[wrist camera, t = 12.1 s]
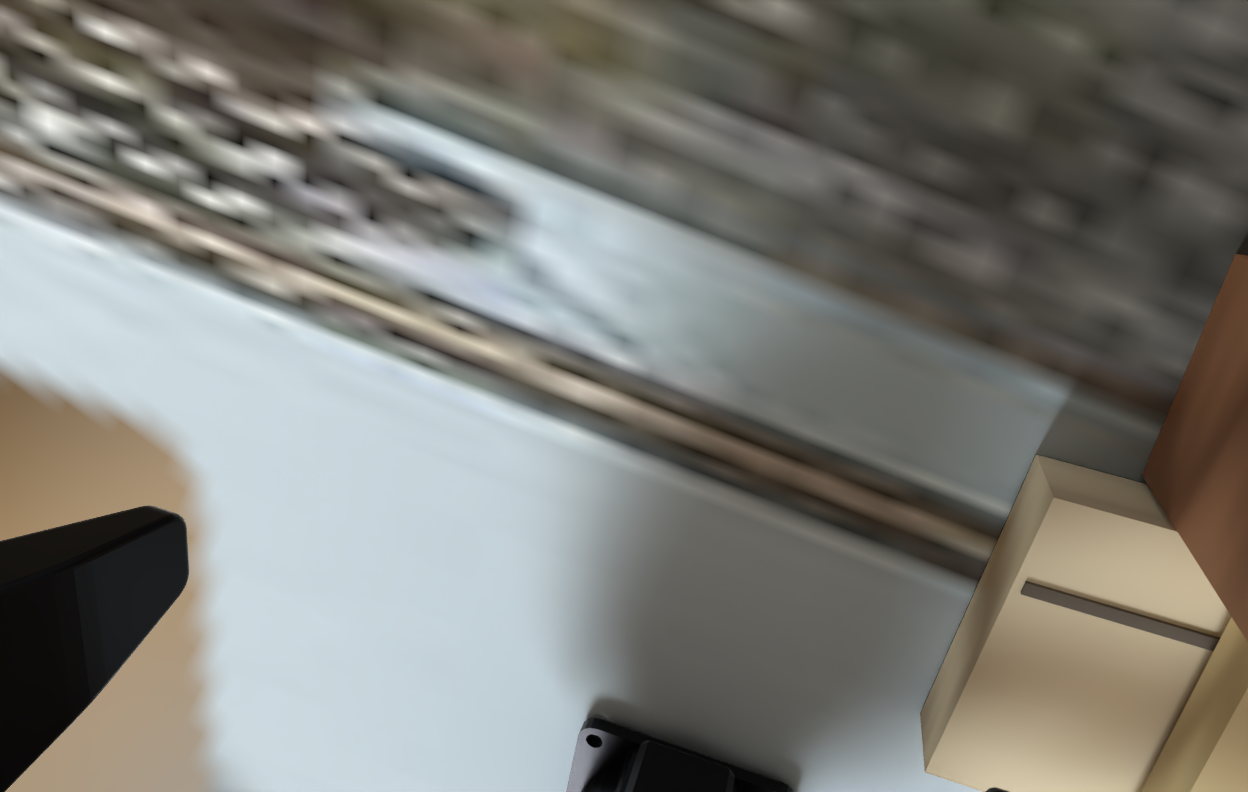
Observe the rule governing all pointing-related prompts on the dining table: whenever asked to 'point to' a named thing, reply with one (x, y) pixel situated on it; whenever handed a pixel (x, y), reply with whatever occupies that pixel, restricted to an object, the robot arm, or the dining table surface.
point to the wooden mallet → (1211, 539)
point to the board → (1073, 642)
